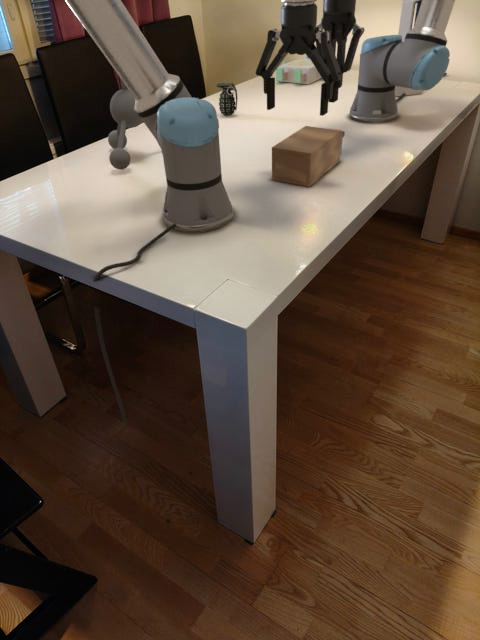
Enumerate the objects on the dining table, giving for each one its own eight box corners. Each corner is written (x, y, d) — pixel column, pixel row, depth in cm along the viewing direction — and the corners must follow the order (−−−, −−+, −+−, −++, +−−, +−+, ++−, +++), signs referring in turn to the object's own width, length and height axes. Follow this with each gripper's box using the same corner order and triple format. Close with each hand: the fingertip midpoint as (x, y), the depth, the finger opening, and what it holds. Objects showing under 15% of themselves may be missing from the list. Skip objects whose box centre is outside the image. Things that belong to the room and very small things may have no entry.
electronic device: (392, 97, 177) (405, -1, 159) (382, 92, 183) (394, -3, 165) (423, 93, 180) (439, -4, 161) (412, 88, 185) (426, -6, 167)
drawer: (319, 143, 139) (320, 121, 135) (349, 148, 135) (351, 124, 131) (280, 171, 124) (280, 147, 120) (313, 177, 120) (314, 152, 116)
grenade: (217, 117, 168) (214, 86, 162) (221, 112, 172) (219, 82, 166) (235, 117, 166) (233, 86, 160) (239, 113, 171) (238, 82, 165)
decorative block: (298, 54, 217) (339, 57, 208) (298, 70, 221) (338, 74, 211) (267, 65, 201) (310, 69, 191) (267, 82, 205) (309, 87, 195)
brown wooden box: (304, 156, 134) (305, 125, 130) (339, 161, 130) (342, 130, 125) (271, 179, 122) (271, 147, 117) (309, 186, 118) (310, 153, 113)
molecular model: (192, 161, 135) (179, 37, 117) (113, 175, 129) (86, 48, 111) (170, 137, 153) (156, 27, 134) (100, 149, 147) (74, 35, 128)
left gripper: (363, 1, 98) (353, 112, 111) (255, 1, 109) (258, 102, 122) (350, 5, 93) (341, 121, 106) (238, 5, 104) (242, 110, 117)
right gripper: (372, -9, 113) (362, 99, 127) (321, -9, 118) (316, 95, 133) (361, -6, 108) (351, 107, 122) (307, -6, 113) (304, 102, 128)
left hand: (296, 111), depth 114 cm, fingers open, 13 cm apart
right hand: (333, 100), depth 127 cm, fingers closed
